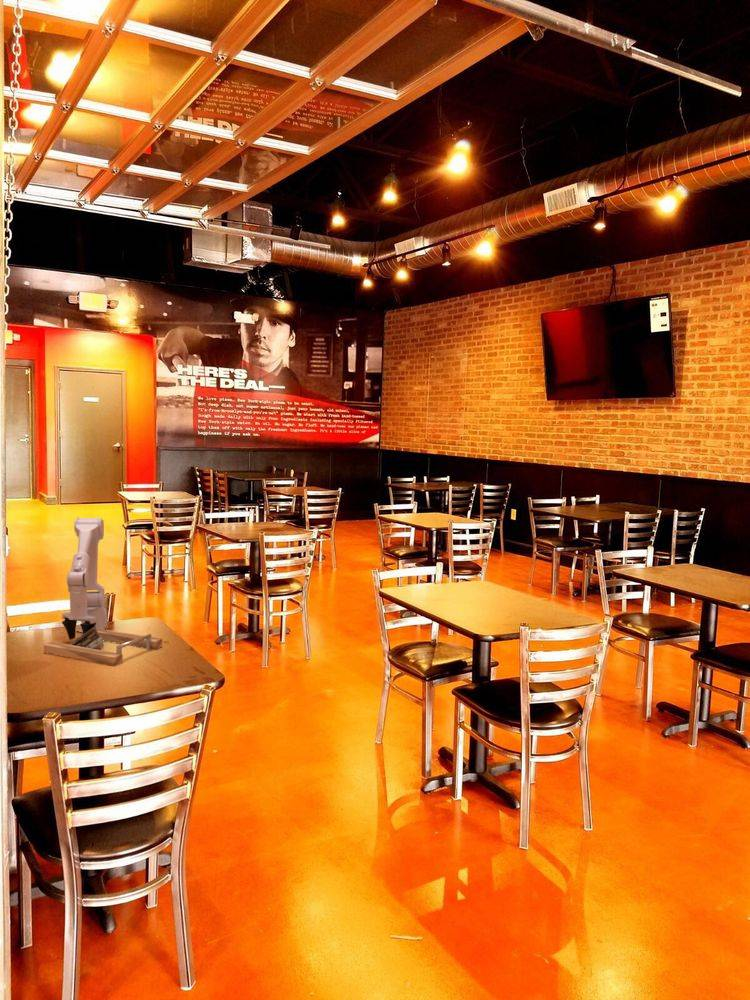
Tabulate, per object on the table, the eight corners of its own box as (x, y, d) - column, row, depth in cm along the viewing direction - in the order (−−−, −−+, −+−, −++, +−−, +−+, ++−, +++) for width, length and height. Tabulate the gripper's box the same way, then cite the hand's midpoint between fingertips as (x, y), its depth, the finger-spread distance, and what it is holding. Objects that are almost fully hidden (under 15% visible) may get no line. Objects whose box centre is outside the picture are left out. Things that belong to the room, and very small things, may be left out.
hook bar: (149, 648, 266) (148, 633, 266) (151, 649, 266) (151, 634, 265) (116, 661, 252) (116, 645, 251) (119, 662, 251) (119, 646, 250)
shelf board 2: (95, 635, 282) (95, 627, 281) (162, 646, 269) (162, 638, 268) (87, 638, 278) (87, 630, 278) (154, 649, 265) (154, 641, 265)
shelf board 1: (52, 649, 264) (52, 641, 263) (122, 662, 250) (122, 654, 250) (43, 653, 260) (43, 644, 260) (113, 666, 247) (113, 657, 247)
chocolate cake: (76, 657, 257) (101, 629, 262) (65, 647, 261) (89, 621, 266) (91, 668, 265) (115, 641, 269) (79, 659, 268) (103, 633, 273)
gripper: (54, 603, 268) (56, 640, 269) (85, 608, 262) (86, 645, 264) (70, 599, 274) (71, 635, 276) (100, 604, 269) (100, 640, 270)
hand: (79, 640), depth 270 cm, fingers open, 7 cm apart
